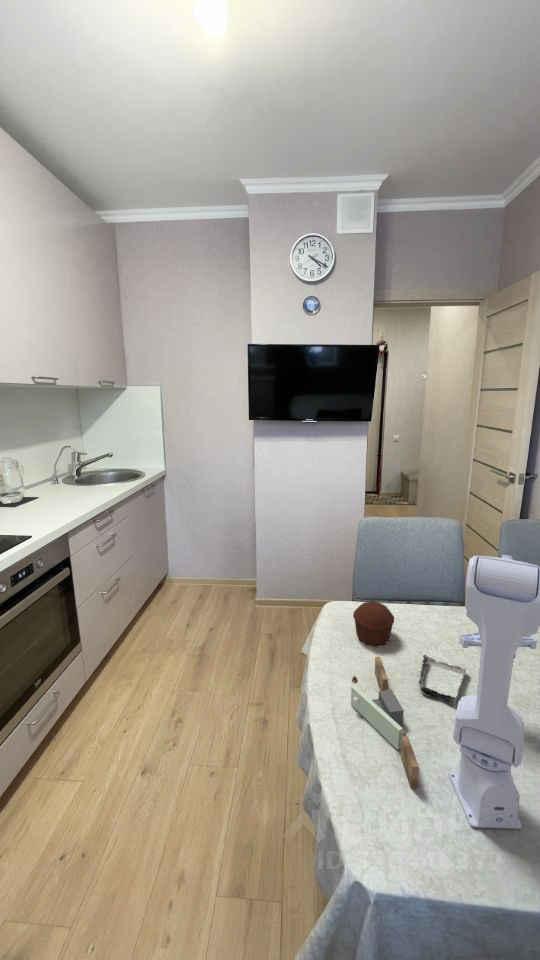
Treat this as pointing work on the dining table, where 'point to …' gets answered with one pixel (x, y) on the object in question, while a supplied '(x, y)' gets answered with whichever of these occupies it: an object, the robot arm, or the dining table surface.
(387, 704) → the grey stepped block
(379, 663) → the brown wooden plank
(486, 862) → the dining table surface
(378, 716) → the door
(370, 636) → the muffin
